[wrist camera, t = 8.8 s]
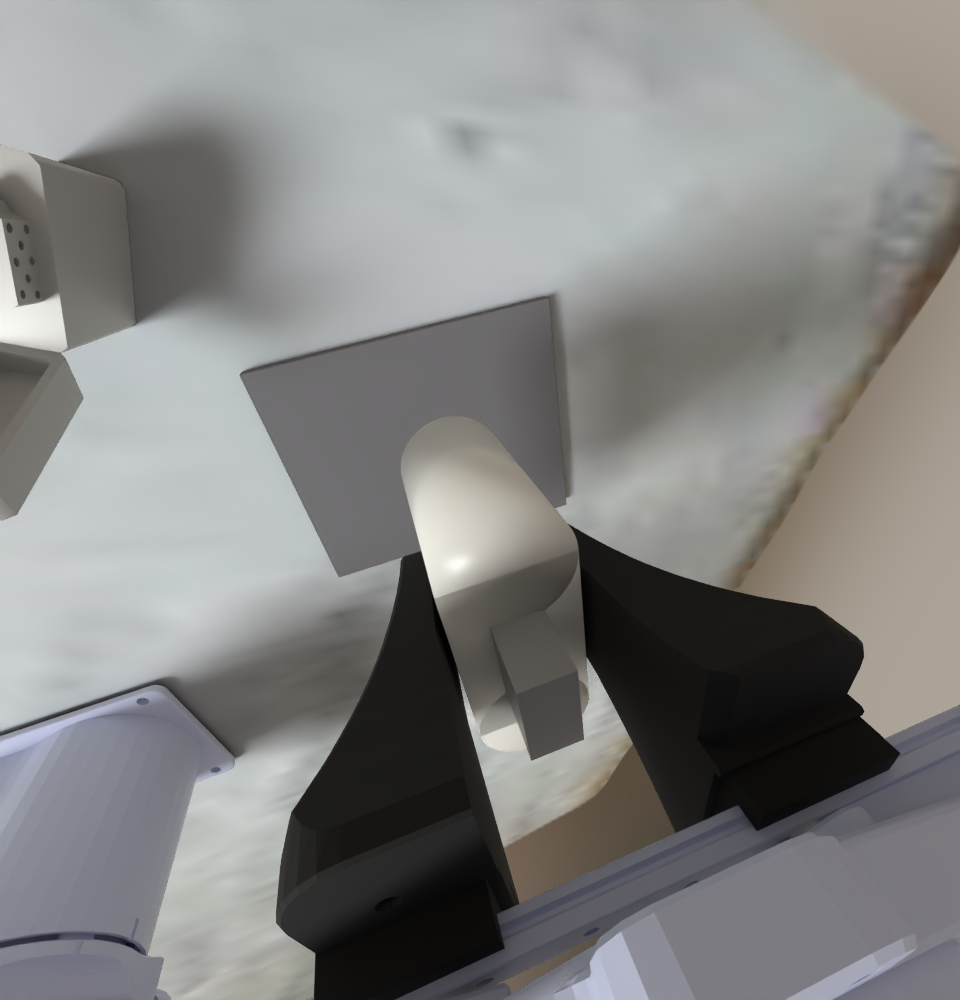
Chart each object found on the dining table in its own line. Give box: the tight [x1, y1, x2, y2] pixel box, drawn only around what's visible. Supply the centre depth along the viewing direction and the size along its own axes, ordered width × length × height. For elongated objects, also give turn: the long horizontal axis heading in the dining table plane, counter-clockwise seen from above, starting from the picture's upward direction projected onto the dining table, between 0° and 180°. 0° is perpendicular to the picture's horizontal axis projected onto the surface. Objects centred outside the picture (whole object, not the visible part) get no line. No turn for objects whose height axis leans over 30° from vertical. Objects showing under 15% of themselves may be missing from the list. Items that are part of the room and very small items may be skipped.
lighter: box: [0, 144, 136, 521], centre depth 10 cm, size 7×2×8 cm, turn 164°
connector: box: [401, 416, 589, 761], centre depth 11 cm, size 3×8×7 cm, turn 10°
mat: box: [240, 297, 566, 577], centre depth 19 cm, size 12×10×1 cm
